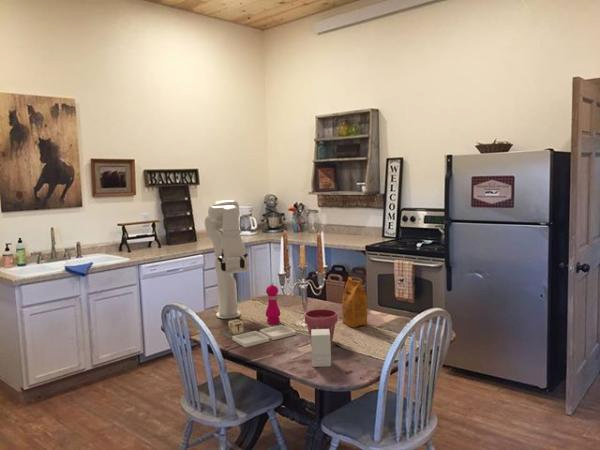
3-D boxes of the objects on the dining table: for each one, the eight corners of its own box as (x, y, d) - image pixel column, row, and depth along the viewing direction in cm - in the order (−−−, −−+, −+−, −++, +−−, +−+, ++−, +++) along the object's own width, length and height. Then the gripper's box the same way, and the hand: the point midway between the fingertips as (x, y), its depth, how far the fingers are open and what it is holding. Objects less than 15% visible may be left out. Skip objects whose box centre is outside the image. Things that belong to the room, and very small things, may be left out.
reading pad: (219, 333, 239) (219, 332, 239) (242, 327, 246) (242, 326, 246) (229, 339, 231) (229, 337, 231) (252, 333, 237) (252, 332, 237)
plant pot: (314, 334, 233) (313, 307, 232) (343, 338, 227) (342, 310, 225) (299, 344, 221) (298, 315, 219) (329, 349, 214) (328, 319, 212)
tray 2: (259, 334, 236) (259, 329, 236) (281, 328, 243) (281, 324, 242) (273, 341, 226) (273, 336, 226) (296, 335, 233) (295, 331, 233)
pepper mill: (278, 324, 249) (277, 284, 246) (264, 324, 250) (262, 284, 248) (282, 320, 256) (280, 280, 253) (268, 319, 257) (266, 280, 255)
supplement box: (330, 359, 203) (330, 328, 202) (331, 366, 196) (330, 334, 194) (312, 359, 204) (311, 328, 202) (311, 367, 196) (310, 335, 195)
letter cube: (228, 331, 239) (228, 321, 238) (238, 329, 242) (237, 319, 241) (233, 334, 235) (233, 323, 234) (243, 332, 237) (243, 321, 237)
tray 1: (232, 340, 228) (232, 336, 228) (255, 335, 235) (255, 330, 235) (245, 348, 218) (244, 343, 218) (269, 342, 225) (269, 337, 225)
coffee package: (357, 318, 254) (356, 275, 252) (370, 325, 243) (369, 280, 240) (339, 321, 251) (338, 277, 248) (351, 329, 239) (350, 282, 237)
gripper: (243, 230, 249) (245, 265, 251) (210, 234, 240) (212, 270, 242) (251, 232, 243) (253, 268, 245) (217, 236, 234) (219, 273, 236)
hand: (233, 269), depth 244 cm, fingers open, 9 cm apart
